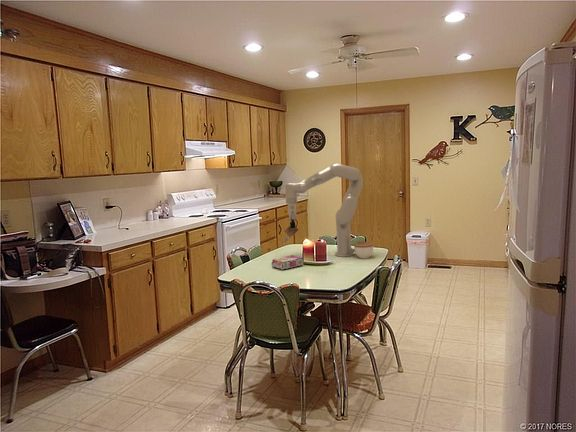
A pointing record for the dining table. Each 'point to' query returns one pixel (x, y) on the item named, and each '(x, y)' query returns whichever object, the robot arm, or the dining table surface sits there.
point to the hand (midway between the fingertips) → (292, 227)
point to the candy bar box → (287, 262)
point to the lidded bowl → (363, 249)
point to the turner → (290, 232)
